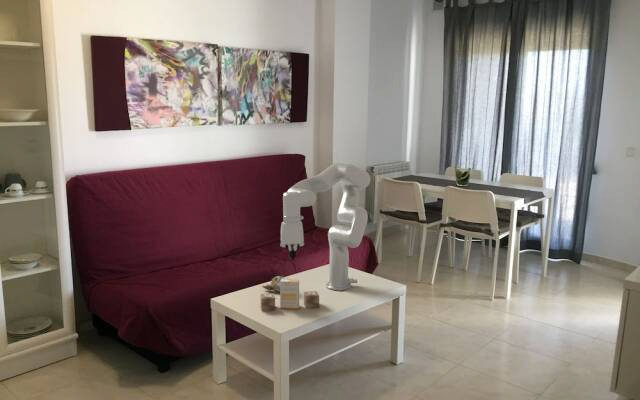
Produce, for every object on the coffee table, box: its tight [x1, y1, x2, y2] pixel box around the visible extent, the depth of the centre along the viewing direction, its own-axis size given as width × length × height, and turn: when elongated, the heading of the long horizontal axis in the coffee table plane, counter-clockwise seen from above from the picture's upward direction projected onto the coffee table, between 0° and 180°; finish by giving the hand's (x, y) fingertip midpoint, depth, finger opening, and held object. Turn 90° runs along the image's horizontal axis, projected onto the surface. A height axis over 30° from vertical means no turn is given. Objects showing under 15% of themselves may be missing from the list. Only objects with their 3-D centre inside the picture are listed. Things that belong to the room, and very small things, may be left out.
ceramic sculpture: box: [261, 274, 285, 293], centre depth 268 cm, size 11×9×15 cm
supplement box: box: [279, 277, 300, 310], centre depth 247 cm, size 8×5×13 cm, turn 84°
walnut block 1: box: [260, 292, 276, 312], centre depth 245 cm, size 6×6×6 cm
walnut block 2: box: [303, 290, 320, 309], centre depth 249 cm, size 6×6×6 cm
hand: (292, 258), depth 247 cm, fingers closed
